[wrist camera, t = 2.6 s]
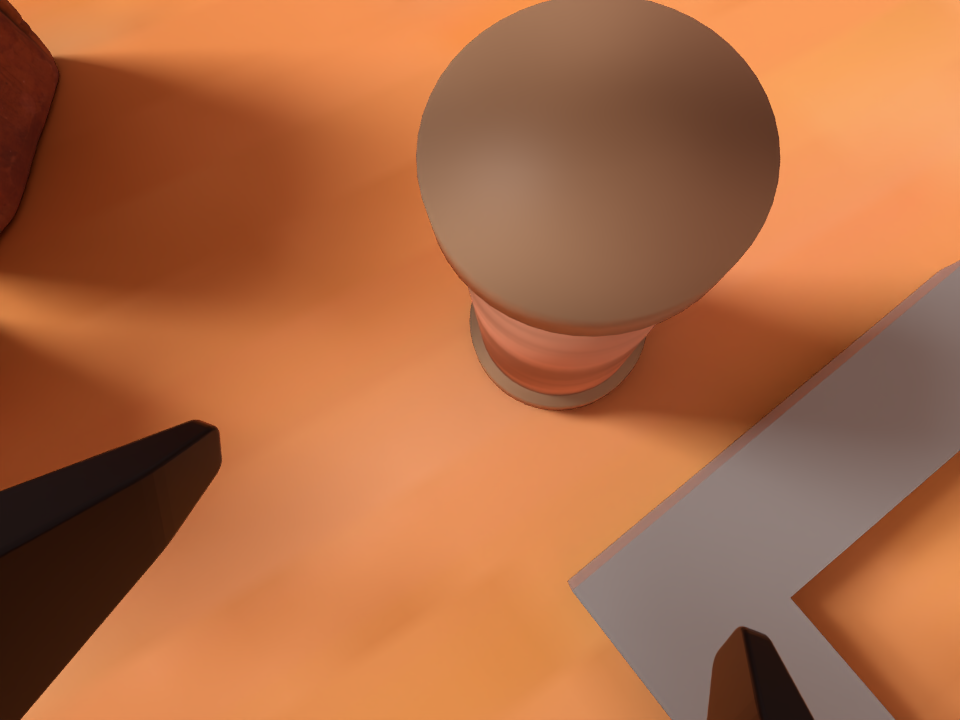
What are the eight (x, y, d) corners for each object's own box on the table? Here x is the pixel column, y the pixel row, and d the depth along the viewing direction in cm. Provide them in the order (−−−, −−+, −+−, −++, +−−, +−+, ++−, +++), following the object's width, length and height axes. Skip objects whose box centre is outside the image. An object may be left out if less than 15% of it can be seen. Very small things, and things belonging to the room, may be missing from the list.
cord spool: (656, 396, 23) (823, 287, 10) (485, 422, 23) (440, 347, 11) (623, 236, 24) (731, -33, 12) (461, 262, 25) (397, 27, 12)
